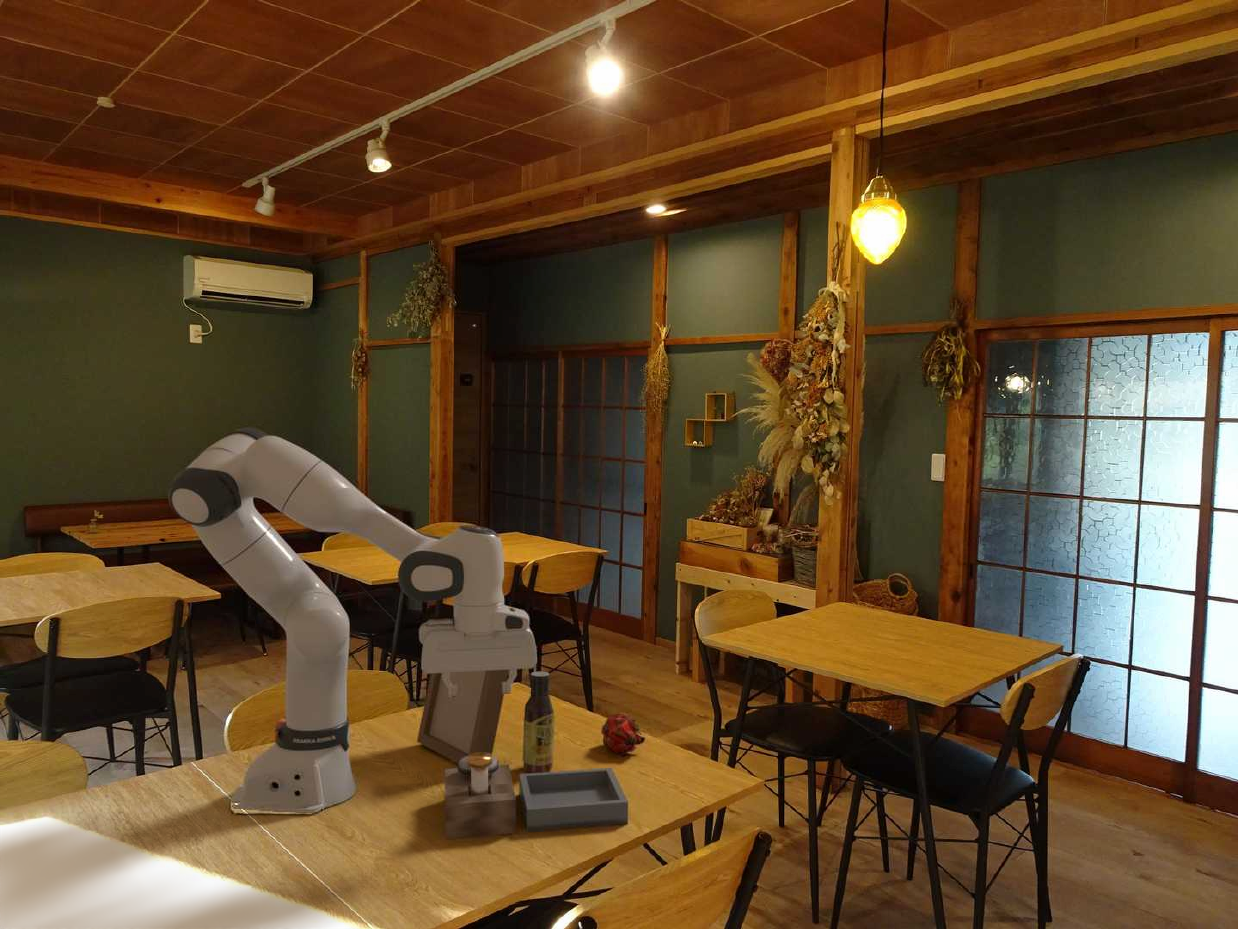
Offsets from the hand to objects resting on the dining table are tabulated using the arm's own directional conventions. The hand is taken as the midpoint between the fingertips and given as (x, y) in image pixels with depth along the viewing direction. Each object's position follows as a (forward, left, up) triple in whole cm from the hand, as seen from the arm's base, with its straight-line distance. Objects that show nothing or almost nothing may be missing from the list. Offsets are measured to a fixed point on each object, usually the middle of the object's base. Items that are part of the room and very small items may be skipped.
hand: (479, 694), depth 160 cm
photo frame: (0, +35, -24) cm, 42 cm away
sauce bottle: (+13, +23, -24) cm, 35 cm away
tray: (+17, +3, -23) cm, 29 cm away
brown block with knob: (0, +3, -23) cm, 23 cm away
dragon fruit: (+32, +30, -24) cm, 50 cm away
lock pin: (0, 0, -23) cm, 23 cm away
